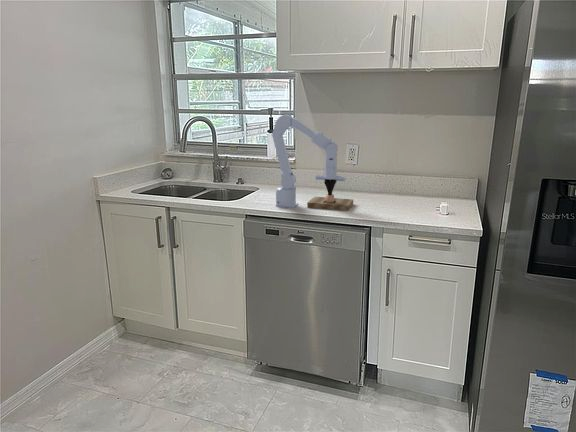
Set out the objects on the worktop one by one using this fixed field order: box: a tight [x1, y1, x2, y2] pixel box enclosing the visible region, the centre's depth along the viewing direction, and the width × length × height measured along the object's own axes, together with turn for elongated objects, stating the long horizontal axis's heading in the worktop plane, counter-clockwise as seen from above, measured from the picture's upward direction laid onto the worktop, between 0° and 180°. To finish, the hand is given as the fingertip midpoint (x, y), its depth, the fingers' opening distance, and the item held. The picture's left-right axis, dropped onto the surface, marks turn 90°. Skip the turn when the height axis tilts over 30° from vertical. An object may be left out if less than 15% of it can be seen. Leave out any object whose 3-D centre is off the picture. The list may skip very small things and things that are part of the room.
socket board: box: [306, 196, 354, 212], centre depth 211 cm, size 20×14×2 cm
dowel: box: [325, 193, 335, 203], centre depth 208 cm, size 4×4×6 cm
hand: (330, 194), depth 208 cm, fingers closed, pressing on dowel
